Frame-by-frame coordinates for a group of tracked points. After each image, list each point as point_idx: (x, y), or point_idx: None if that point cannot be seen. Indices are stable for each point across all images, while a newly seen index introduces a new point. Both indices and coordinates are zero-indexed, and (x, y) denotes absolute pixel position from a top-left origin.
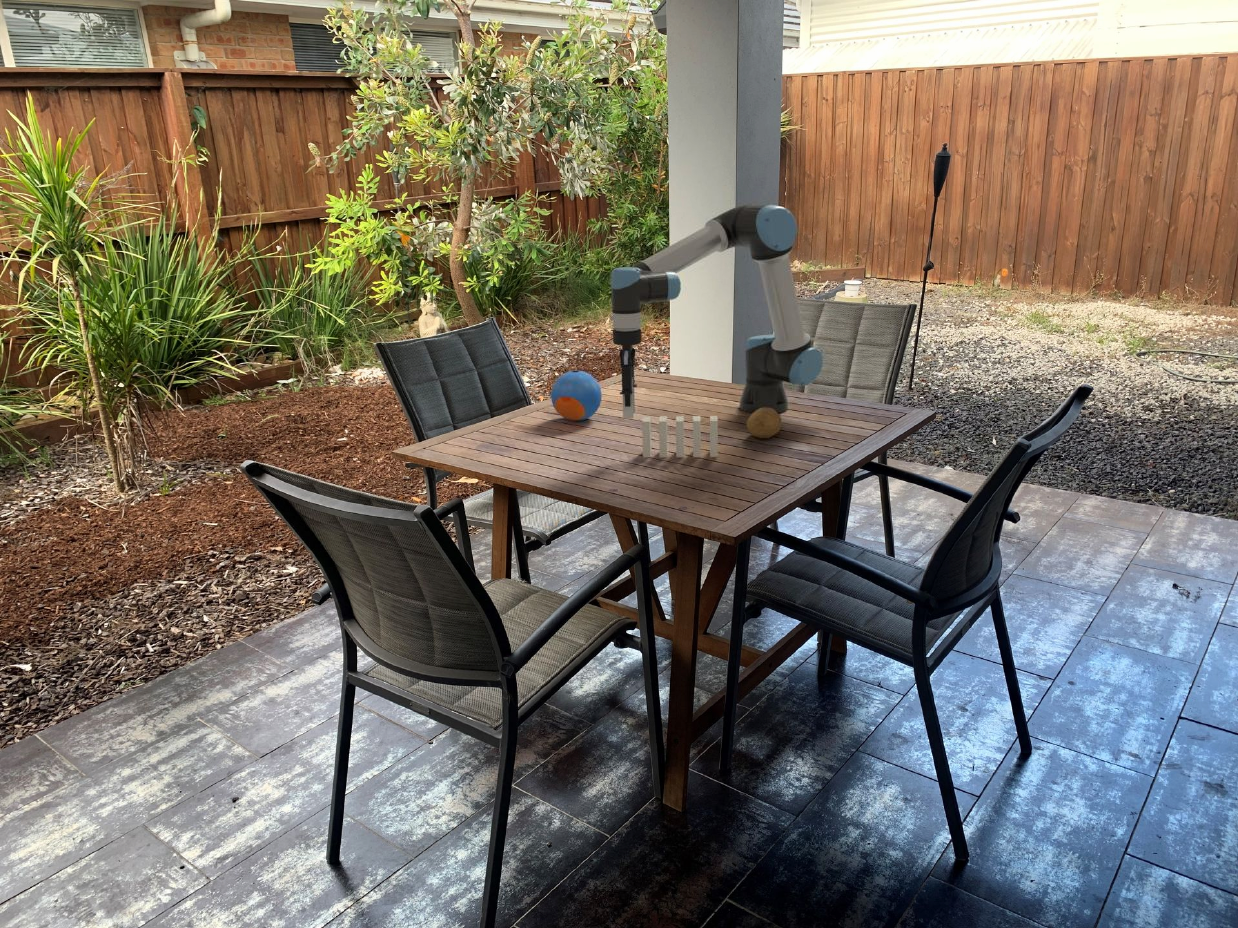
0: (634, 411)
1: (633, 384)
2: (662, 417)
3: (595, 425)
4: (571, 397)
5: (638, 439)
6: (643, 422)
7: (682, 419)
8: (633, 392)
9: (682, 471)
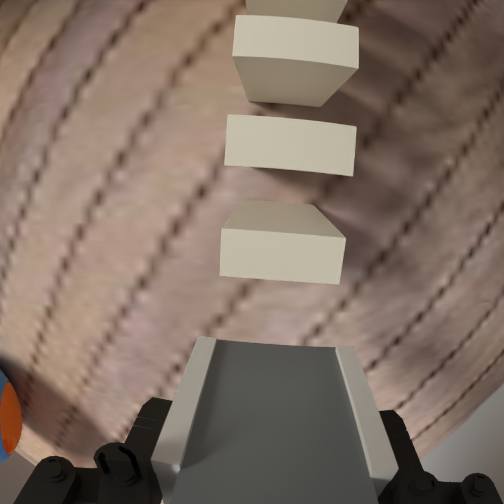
0: (216, 342)
1: (145, 496)
2: (252, 146)
3: (16, 351)
4: (2, 440)
5: (99, 245)
6: (340, 274)
7: (314, 26)
8: (186, 443)
9: (459, 114)
